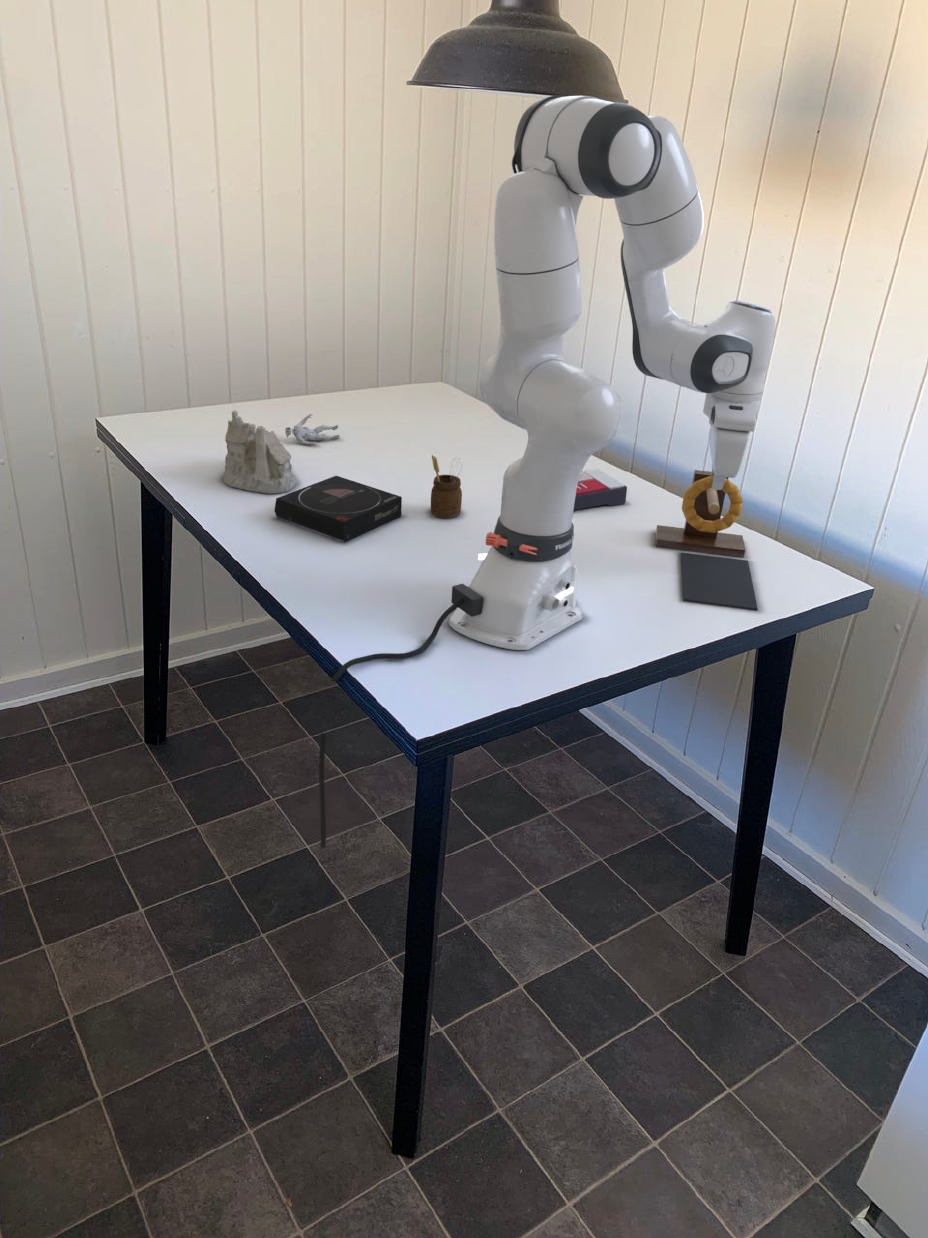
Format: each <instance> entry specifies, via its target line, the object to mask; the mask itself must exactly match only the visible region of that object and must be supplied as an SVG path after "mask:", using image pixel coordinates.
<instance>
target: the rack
mask: <svg viewBox="0 0 928 1238" xmlns="http://www.w3.org/2000/svg"><path fill="white" fill-rule="evenodd" d="M711 472H712V471H709V470H708V471H707V470H699V469H694V472H693V477H692V483H691V485H692V484H693V483H694V482H695V481H698V480H701V479H703V478H706V477H709V476H711ZM726 479H728V480H730V478H728V477H726ZM725 497H726V493H725V492H723V491H722V490H716V489H713V488H710V489H707V490H705V491H702V492H701V493H700V494H699V495H698V496H697V497H696V498H695V503H694V509H695V511H696V514H697V515H698V516H699V517H701V518H702V519H703V520H709V521H715V520H718V519H721V518H722V512H723V507H724V502H725ZM655 547H657V548H665V549H671V550H681V551H689V552H697V553H705V554H713V555H720V556H721V555H722V556H729V557H738V558H745V554H746V546H745V540H744V535H742V534H733V533H726V532H720V531H718V532H716V533H712V532H704V531H699V530H697V529H696V528H694V527H693V526H692V525H690V524H689V523H688V522H687V521H686V519H685V521H684V526H683V527H676V526H670V525H661V524H657V525H656V528H655Z"/></svg>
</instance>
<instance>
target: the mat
mask: <svg viewBox="0 0 928 1238" xmlns="http://www.w3.org/2000/svg"><path fill="white" fill-rule="evenodd" d="M680 568H681V569H680V570H681V586H682V601H683V602H689V603H696V604H706V605H712V606H719V607H727V608H736V609H743V610H751V611H758V609H759V608H758V603H757V598H756V593H755V588H754V583H753V577H752V573H751V568H750V564H749V560H746V559H738V558H730V557H723V556H722V557H721V556H715V555H706V554H698V553H691V552H690V553H689V552H682V551H681V552H680Z"/></svg>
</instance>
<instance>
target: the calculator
mask: <svg viewBox="0 0 928 1238" xmlns="http://www.w3.org/2000/svg"><path fill="white" fill-rule="evenodd" d="M627 493H628V486H626V485H625V484H624V483H622V482H621V481H619V480H618V479H616V478H614V477H613V476H611V475H609V474H608V473H606V472H605V471H603V470H601V469H600V468H593V469H588V470H584V471H583V470H582V472H581V474H580V477H579V481H578V484H577V490H576V496H575V503H574V510H573V511H577V510H583V509H588V508H589V509H590V508H593V507H598V506H599V507H600V506H605V505H607V506H610V507H612V506H613V507H614V506H617V505H618V506H619V505H623V504H626V502H627V500H626V499H627Z"/></svg>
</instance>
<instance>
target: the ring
mask: <svg viewBox="0 0 928 1238" xmlns="http://www.w3.org/2000/svg"><path fill="white" fill-rule="evenodd" d="M712 479H713V476H709V477H706V478H703V479H701V480H698V481H695V482H694V483H693V484H692V483H691V485H690V486H689V488H688V489H686V491H685V492H684V494H683V499H682V502H681V503H682V504H681V511H682V513H683V516H684V519H685V520H686V521H687V522H688V523H689V524H690V525H692V526H693V527H694V528H696V529H697V530H699V531H704V532H712V533H716V532H721V531H724V530H726V529H729V528H731V527H732V526H733V524H735V523H736V522H737V520H738V519H739V518H740V517H741V514H742V509H743V505H744V499H743V497H742V494H741V491H740V488H739V487H738V486H737V485H736V484H735V483H733V482H732V481H730V479H726V478H725V480H724V484H723V488H722V489H721V490H722V491H723V492H725V495H727V496H728V499H729V501H730V502H729V503H730V504H729V509H728V511H727V512H726V513H725V514H724V516H723V517H721V518H720V519H718V520H715V521H709V520H703V519H702V518H701V517H699V516H698V515H697V514H696V511H695V509H694V503H695V498H696V497H697V496H698V495H699V494H700V493H701V492H702V491H705V490H707V489H710V488H712Z"/></svg>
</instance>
